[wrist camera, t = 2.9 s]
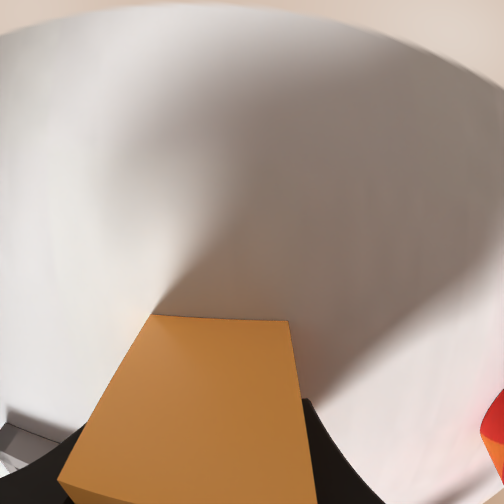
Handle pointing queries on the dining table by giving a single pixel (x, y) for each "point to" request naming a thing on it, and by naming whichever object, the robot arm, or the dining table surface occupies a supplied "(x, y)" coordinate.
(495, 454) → the paper cup
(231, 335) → the chute block
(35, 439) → the green block with knob
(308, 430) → the robot arm
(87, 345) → the dining table surface
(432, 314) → the dining table surface
